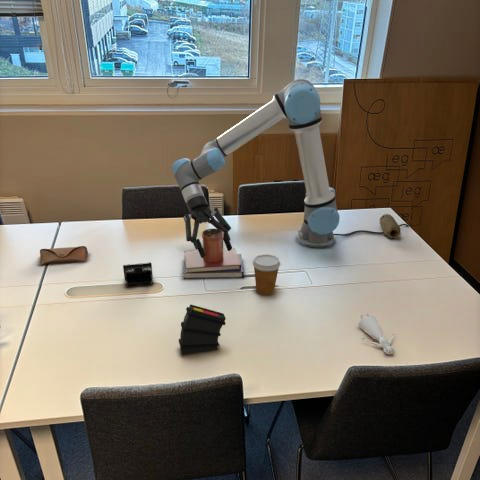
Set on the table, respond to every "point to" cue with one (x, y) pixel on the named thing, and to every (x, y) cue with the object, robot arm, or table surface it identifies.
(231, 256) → the burgundy book
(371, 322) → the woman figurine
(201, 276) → the navy book
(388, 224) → the stone weight
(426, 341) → the table surface
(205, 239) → the terracotta pot
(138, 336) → the table surface
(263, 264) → the disposable coffee cup
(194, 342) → the magazine
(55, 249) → the sunglasses case
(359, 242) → the table surface
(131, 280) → the end cap
